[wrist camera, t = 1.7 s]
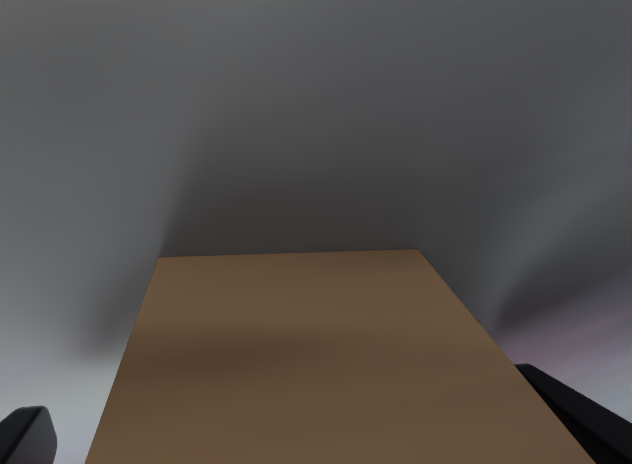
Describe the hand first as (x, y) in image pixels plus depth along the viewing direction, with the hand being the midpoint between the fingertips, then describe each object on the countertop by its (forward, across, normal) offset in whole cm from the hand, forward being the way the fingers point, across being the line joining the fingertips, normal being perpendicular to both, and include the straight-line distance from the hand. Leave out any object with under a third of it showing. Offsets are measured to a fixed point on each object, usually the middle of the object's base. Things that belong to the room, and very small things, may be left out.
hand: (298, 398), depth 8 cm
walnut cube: (+1, 0, 0) cm, 1 cm away
